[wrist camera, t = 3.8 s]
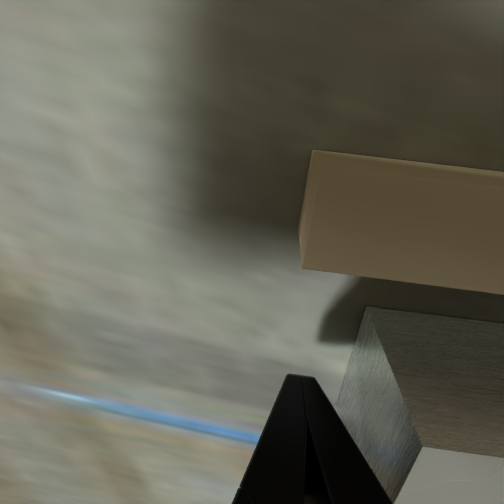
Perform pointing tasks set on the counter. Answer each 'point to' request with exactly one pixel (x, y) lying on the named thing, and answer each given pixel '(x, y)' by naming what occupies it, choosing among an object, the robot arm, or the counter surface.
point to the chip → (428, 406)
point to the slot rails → (404, 221)
